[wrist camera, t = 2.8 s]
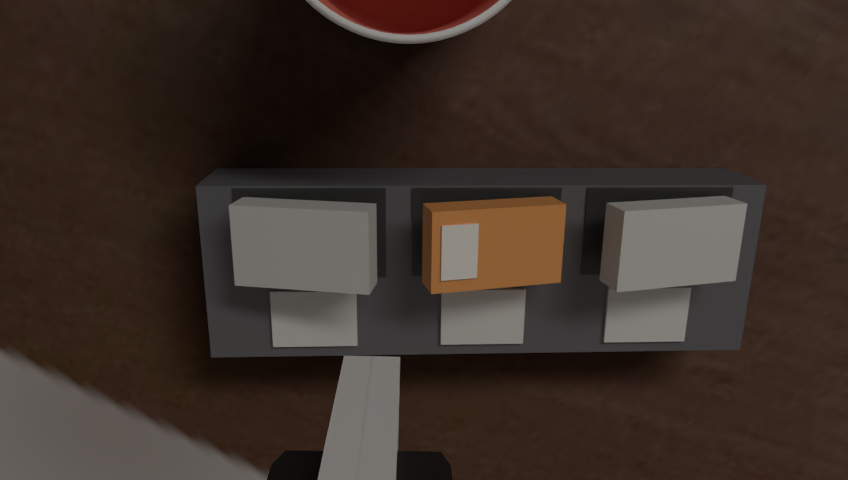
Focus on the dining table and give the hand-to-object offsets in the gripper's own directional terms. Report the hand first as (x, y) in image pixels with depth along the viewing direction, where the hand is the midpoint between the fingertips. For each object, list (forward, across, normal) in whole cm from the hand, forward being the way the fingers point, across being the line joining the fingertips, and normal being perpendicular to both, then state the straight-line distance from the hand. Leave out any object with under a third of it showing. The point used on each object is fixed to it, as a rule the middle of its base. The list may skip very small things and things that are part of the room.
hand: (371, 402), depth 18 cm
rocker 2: (+13, +4, +1) cm, 13 cm away
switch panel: (+18, +4, -1) cm, 18 cm away
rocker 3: (+13, +12, +1) cm, 18 cm away
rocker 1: (+12, -4, +1) cm, 13 cm away
